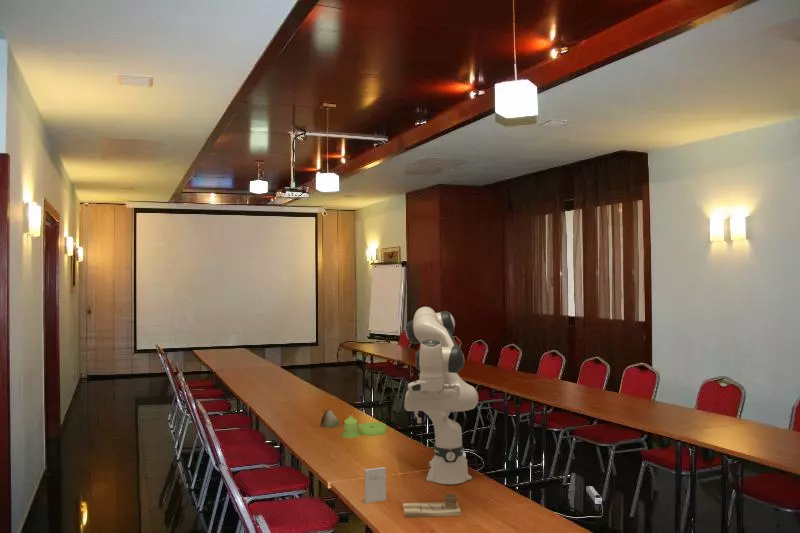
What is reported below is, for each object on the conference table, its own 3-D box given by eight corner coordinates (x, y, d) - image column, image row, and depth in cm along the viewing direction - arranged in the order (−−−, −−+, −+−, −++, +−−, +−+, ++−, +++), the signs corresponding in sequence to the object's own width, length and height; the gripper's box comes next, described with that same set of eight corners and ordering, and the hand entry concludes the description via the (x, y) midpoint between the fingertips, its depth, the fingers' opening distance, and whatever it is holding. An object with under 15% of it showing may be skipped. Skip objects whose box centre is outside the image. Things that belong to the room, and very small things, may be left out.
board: (403, 506, 244) (403, 503, 244) (456, 504, 245) (456, 501, 245) (404, 517, 233) (404, 513, 233) (461, 515, 234) (461, 511, 234)
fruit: (333, 427, 376) (333, 406, 376) (342, 430, 369) (342, 409, 369) (318, 430, 370) (317, 409, 370) (327, 433, 362) (327, 411, 362)
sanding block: (445, 504, 241) (444, 493, 242) (454, 504, 242) (454, 493, 242) (446, 509, 237) (446, 498, 237) (456, 509, 237) (456, 497, 237)
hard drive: (364, 502, 249) (364, 469, 249) (385, 499, 252) (384, 466, 252) (366, 503, 247) (365, 470, 248) (386, 500, 250) (386, 467, 251)
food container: (377, 432, 364) (377, 409, 365) (391, 437, 352) (390, 413, 352) (336, 438, 351) (336, 414, 351) (349, 444, 339) (349, 419, 339)
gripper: (458, 382, 246) (459, 420, 246) (403, 384, 245) (404, 421, 245) (460, 385, 240) (461, 423, 240) (404, 386, 239) (405, 425, 239)
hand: (432, 422), depth 242 cm, fingers open, 8 cm apart
